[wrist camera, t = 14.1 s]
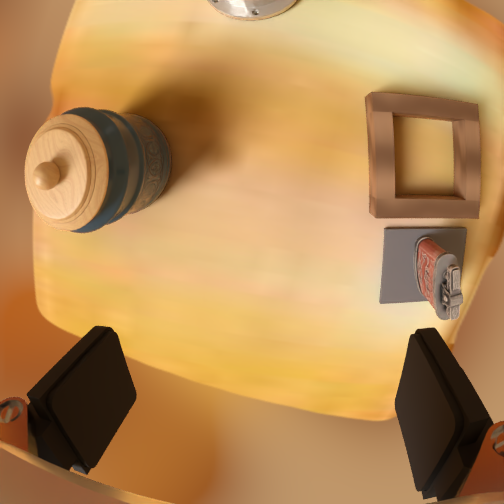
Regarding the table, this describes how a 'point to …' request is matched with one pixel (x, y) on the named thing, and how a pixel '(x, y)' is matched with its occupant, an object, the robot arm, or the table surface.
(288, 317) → the table surface
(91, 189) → the canister
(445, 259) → the lighter
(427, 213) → the frame
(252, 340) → the table surface
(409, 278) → the charcoal mat
